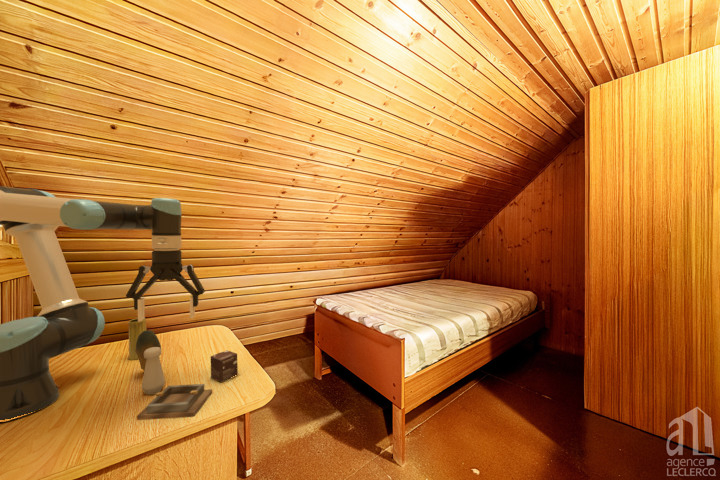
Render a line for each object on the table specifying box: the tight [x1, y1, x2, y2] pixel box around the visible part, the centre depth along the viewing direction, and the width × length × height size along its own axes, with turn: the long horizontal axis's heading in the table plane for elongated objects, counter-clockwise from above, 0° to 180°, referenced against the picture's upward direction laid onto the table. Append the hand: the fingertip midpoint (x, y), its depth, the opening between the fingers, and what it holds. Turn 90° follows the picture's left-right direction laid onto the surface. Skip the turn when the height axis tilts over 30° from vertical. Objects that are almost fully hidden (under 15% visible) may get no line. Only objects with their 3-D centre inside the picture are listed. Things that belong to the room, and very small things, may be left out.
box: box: [210, 350, 239, 383], centre depth 95 cm, size 6×6×7 cm
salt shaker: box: [141, 347, 166, 396], centre depth 87 cm, size 6×6×13 cm
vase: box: [128, 317, 147, 361], centre depth 111 cm, size 6×6×14 cm
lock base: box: [136, 383, 213, 420], centre depth 80 cm, size 14×11×4 cm
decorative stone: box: [135, 329, 162, 372], centre depth 97 cm, size 10×6×15 cm, turn 65°
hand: (167, 318), depth 89 cm, fingers open, 13 cm apart
